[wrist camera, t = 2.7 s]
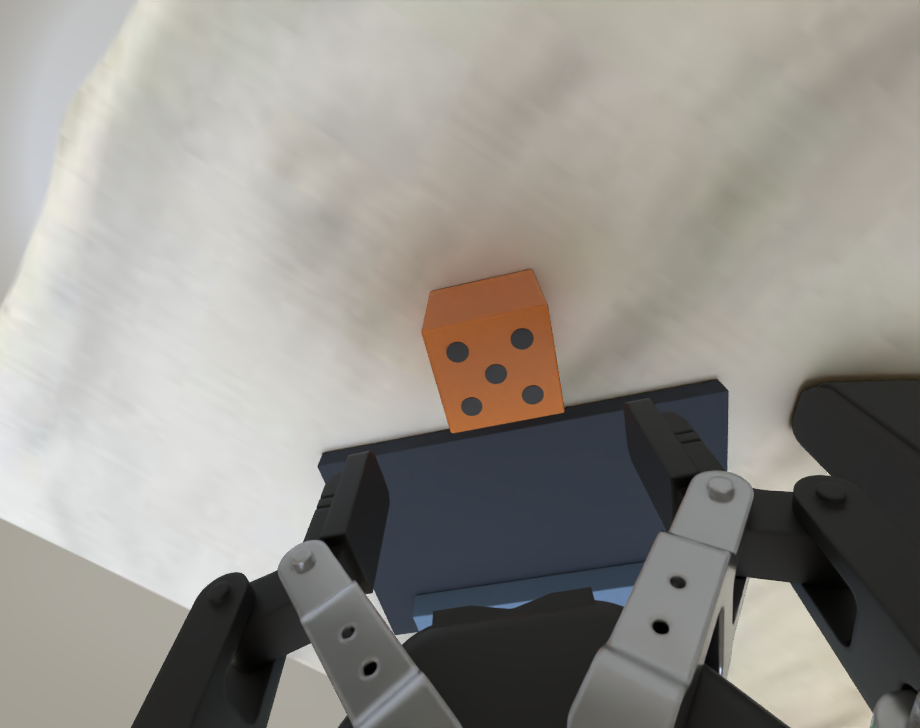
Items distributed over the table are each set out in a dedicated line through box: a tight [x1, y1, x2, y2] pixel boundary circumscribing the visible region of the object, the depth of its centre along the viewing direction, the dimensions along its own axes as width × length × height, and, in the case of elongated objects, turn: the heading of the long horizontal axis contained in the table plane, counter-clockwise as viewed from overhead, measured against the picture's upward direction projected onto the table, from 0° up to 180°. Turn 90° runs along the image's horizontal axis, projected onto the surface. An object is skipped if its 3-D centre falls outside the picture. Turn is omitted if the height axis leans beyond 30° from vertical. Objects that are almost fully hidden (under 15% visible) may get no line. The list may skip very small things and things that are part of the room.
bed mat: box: [318, 380, 728, 635], centre depth 28 cm, size 15×22×3 cm
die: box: [421, 269, 565, 433], centre depth 22 cm, size 5×5×5 cm
